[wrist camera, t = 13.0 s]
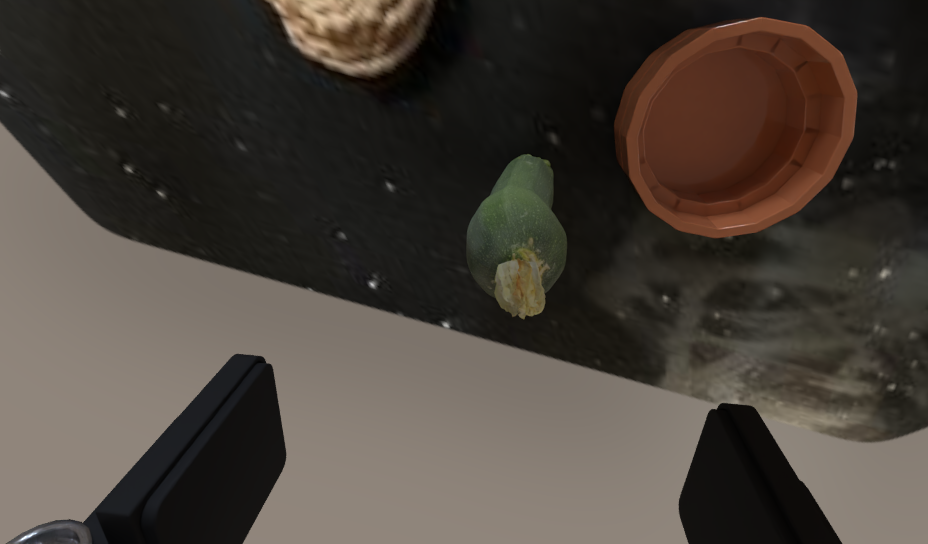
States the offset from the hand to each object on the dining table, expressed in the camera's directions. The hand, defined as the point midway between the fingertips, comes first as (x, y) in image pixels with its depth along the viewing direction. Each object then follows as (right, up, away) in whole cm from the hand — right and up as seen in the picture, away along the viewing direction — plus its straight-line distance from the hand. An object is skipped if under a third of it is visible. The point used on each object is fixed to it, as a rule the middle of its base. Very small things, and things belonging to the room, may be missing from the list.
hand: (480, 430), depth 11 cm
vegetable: (+3, +10, +23) cm, 25 cm away
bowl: (+15, +13, +20) cm, 28 cm away
